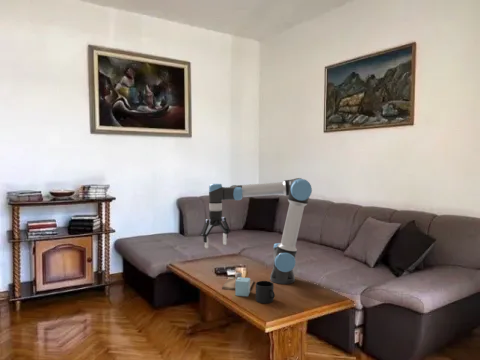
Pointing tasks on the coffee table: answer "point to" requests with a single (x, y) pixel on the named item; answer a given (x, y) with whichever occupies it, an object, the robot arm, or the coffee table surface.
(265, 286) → the mug
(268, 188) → the robot arm
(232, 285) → the post base
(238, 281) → the light blue block
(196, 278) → the coffee table surface
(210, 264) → the coffee table surface
